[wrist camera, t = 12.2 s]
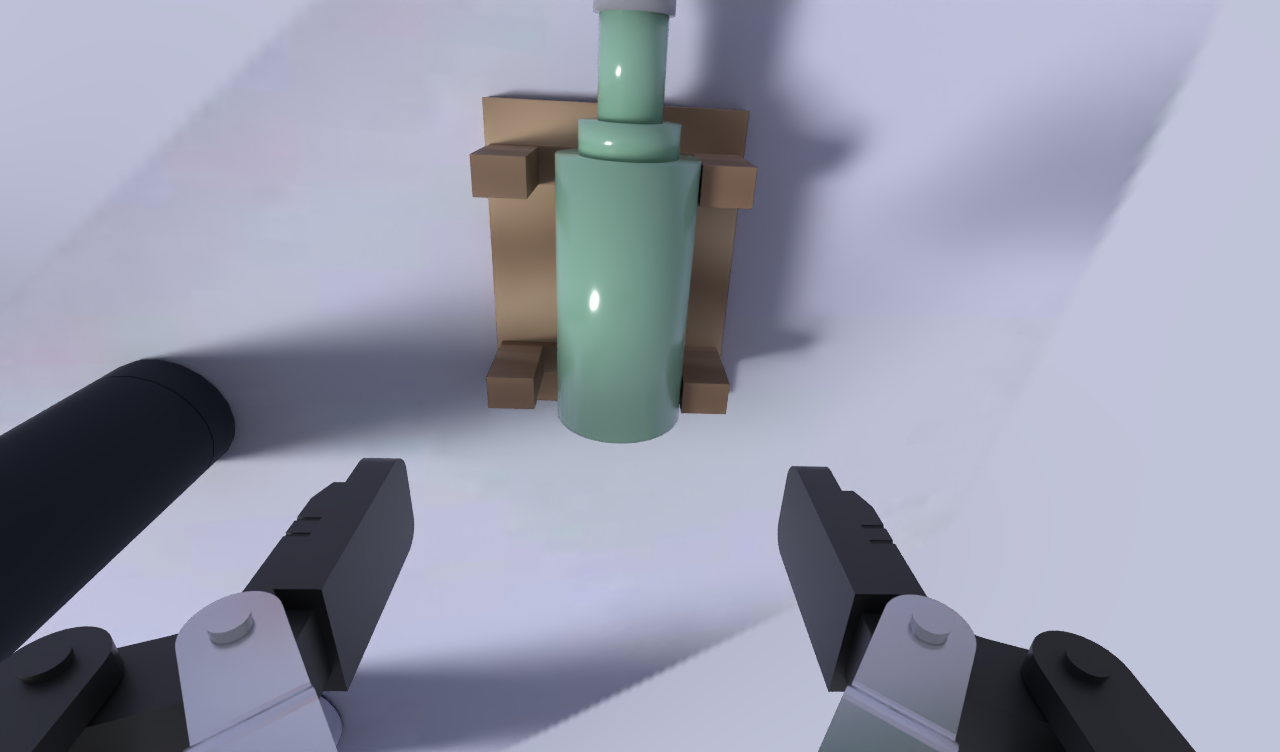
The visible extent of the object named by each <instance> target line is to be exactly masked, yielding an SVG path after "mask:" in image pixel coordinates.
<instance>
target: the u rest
mask: <svg viewBox="0 0 1280 752" xmlns="http://www.w3.org/2000/svg"><path fill="white" fill-rule="evenodd" d="M482 103H483V119H484V134H485V147H483V148H481V149H479V150H477V151H475V152H473V153H471V154H470V166H471V179H472V193H473V197H484V198H489V214H490V230H491V246H492V262H493V277H494V293H495V309H496V325H497V341H498V352H497V354H496V356H495V359H494V361H493V363H492V365H491V368H490V370H489V372H488V374H487V377H486V382H487V395H488V408H514V409H534V408H535V405H536V401H537V400H555V401H558V400H557V307H556V214H555V152H557V151H560V150H565V149H574V148H578V119H579V118H597V108H598V102H579V101H560V100H540V99H521V98H501V97H482ZM748 117H749V111H747V110H736V109H716V108H697V107H677V106H664V110H663V121H666V122H673V123H679V124H682V128H681V141H680V154H684V155H689V156H693V157H696V158H699V159H701V160H702V164H701V175H700V186H699V197H698V208H697V218H696V229H695V240H694V251H693V262H692V273H691V283H690V294H689V305H688V316H687V327H686V338H685V348H684V359H683V370H682V381H681V392H680V403H679V404H680V409H681V413H701V414H726V409H727V401H728V393H729V385H730V384H729V381H728V378H727V376H726V373H725V370H724V367H723V364H722V362H721V359H720V355H721V347H722V338H723V330H724V321H725V313H726V304H727V296H728V287H729V279H730V270H731V262H732V253H733V245H734V236H735V228H736V219H737V211H738V208H739V209H752V205H753V197H754V190H755V182H756V174H757V167H756V166H754V165H752V164H751V163H749V162H748V161H746V160H745V159H744V151H745V143H746V134H747V126H748Z"/></svg>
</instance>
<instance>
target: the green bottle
mask: <svg viewBox="0 0 1280 752" xmlns="http://www.w3.org/2000/svg"><path fill="white" fill-rule="evenodd" d="M593 11H594V12H595V13H599V54H598V108H597V118H579V119H578V148H574V149H565V150H560V151H557V152H555V214H556V307H557V400H558V417H559V419H560V421H561V422H562V423H563V425H564V426H565V427H567V428H568V429H569V430H571V431H572V432H574V433H576V434H578V435H580V436H582V437H585V438H588V439H591V440H595V441H600V442H607V443H636V442H642V441H647V440H651V439H654V438H656V437H659V436H661V435H663V434H665V433H666V432H668V431H669V430H670V429H672V428H673V427H674V425H675V424H676V422H677V420H678V413H679V403H680V392H681V381H682V370H683V359H684V348H685V338H686V327H687V316H688V305H689V294H690V283H691V273H692V262H693V251H694V240H695V229H696V218H697V208H698V197H699V186H700V175H701V164H702V160H701V159H699V158H696V157H693V156H689V155H684V154H680V141H681V128H682V124H679V123H673V122H666V121H663V110H664V94H665V78H666V62H667V46H668V31H669V18H672V17H675V13H676V0H594V4H593Z"/></svg>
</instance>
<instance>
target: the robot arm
mask: <svg viewBox="0 0 1280 752" xmlns="http://www.w3.org/2000/svg"><path fill="white" fill-rule="evenodd" d="M883 526H884V525H883V523H882V522H881V520H880V518H879V517H878V515H877V513H876V512H875V510H874V508H873V507H872V506H871V505H870V504H868V503H867V502H866V501H865V500H864V499H862V498H861V497H860V496H859V495H857V494H856V493H855V492H854V491H842V490H841V489H840V487H839V485H838V483H837V481H836V480H835V478H834V476H833V474H832V472H831V471H830V469H829V468H828V467H807V466H792V467H791V468H790V469H789V471H788V474H787V479H786V485H785V490H784V496H783V501H782V506H781V512H780V517H779V523H778V545H779V550H780V554H781V557H782V560H783V563H784V566H785V569H786V572H787V574H788V577H789V580H790V583H791V586H792V589H793V592H794V594H795V597H796V600H797V603H798V606H799V609H800V612H801V614H802V617H803V620H804V623H805V626H806V628H807V632H808V634H809V637H810V640H811V643H812V646H813V649H814V651H815V654H816V657H817V660H818V663H819V666H820V668H821V672H822V674H823V677H824V680H825V683H826V686H827V688H828V691H829V692H830V691H831V692H834V691H836V692H837V691H839V692H844V694H843V696H842V699H841V701H840V703H839V706H838V708H837V710H836V712H835V715H834V717H833V719H832V721H831V724H830V726H829V728H828V731H827V733H826V735H825V737H824V740H823V742H822V744H821V746H820V749H819V751H818V752H1196V751H1195V750H1194V749H1193V748H1192V747H1191V745H1190V744H1189V743H1188V742H1187V740H1186V739H1185V738H1184V737H1183V736H1182V734H1181V733H1180V732H1179V731H1178V729H1177V728H1176V727H1175V726H1174V724H1173V723H1172V722H1171V721H1170V719H1169V718H1168V717H1167V716H1166V715H1165V713H1164V712H1163V711H1162V710H1161V708H1160V707H1159V706H1158V705H1157V703H1156V702H1155V701H1154V700H1153V699H1152V697H1151V696H1150V695H1149V694H1148V692H1147V691H1146V690H1145V688H1144V687H1143V686H1142V685H1141V684H1140V682H1139V681H1138V680H1137V679H1136V678H1135V676H1134V675H1133V674H1132V672H1131V671H1130V670H1129V669H1128V668H1127V667H1126V666H1125V664H1124V663H1123V662H1121V661H1120V660H1119V659H1118V658H1117V657H1116V656H1114V655H1113V654H1112V653H1110V652H1109V651H1108V650H1106V649H1105V648H1103V647H1102V646H1100V645H1098V644H1097V643H1095V642H1093V641H1091V640H1088V639H1086V638H1084V637H1082V636H1079V635H1076V634H1073V633H1069V632H1064V631H1047V632H1043V633H1041V634H1039V635H1038V636H1036V637H1035V639H1034V641H1033V643H1032V645H1031V647H1030V649H1029V650H1027V649H1023V648H1019V647H1016V646H1012V645H1008V644H1004V643H1000V642H996V641H992V640H989V639H985V638H982V637H979V636H976V635H974V633H973V631H972V629H971V628H970V626H969V625H968V623H967V622H966V621H965V620H964V619H963V618H962V617H961V616H960V615H959V614H958V613H957V612H955V611H954V610H953V609H951V608H950V607H948V606H946V605H945V604H943V603H941V602H939V601H936V600H934V599H931V598H928V597H927V596H926V594H925V593H924V591H923V589H922V588H921V586H920V584H919V583H918V581H917V580H916V578H915V576H914V574H913V573H912V571H911V570H910V568H909V566H908V565H907V563H906V561H905V560H904V558H903V556H902V555H901V553H900V551H899V550H898V548H897V546H896V545H895V544H893V540H892V538H891V537H890V535H889V533H888V532H887V530H886V529H884V527H883ZM413 533H414V516H413V510H412V503H411V496H410V490H409V483H408V477H407V470H406V465H405V463H404V461H403V460H402V459H392V458H363V459H362V460H360V462H359V463H358V464H357V466H356V467H355V469H354V470H353V472H352V473H351V475H350V476H349V478H348V479H347V481H346V482H333V483H332V484H330V485H329V486H328V487H326V488H325V489H323V490H322V491H321V492H319V493H318V494H316V495H315V496H314V497H312V498H311V499H310V500H309V502H308V503H307V505H306V506H305V507H304V509H303V510H302V511H301V513H300V514H299V515H298V517H297V521H294V522H293V524H292V525H291V526H290V528H289V529H288V530H287V532H286V536H283V537H282V539H281V540H280V541H279V543H278V544H277V545H276V547H275V548H274V549H273V551H272V552H271V554H270V555H269V556H268V558H267V559H266V560H265V562H264V563H263V564H262V566H261V567H260V569H259V570H258V571H257V573H256V574H255V575H254V577H253V578H252V579H251V581H250V582H249V584H248V585H247V586H246V588H245V589H244V590H243V592H241V593H237V594H233V595H230V596H227V597H224V598H222V599H219V600H217V601H215V602H213V603H211V604H210V605H208V606H206V607H205V608H203V609H202V610H200V611H199V612H197V613H196V614H195V615H194V616H193V617H191V618H190V619H189V620H188V621H187V623H186V624H185V625H184V626H183V628H182V629H181V630H180V632H179V634H175V635H172V636H167V637H163V638H159V639H155V640H150V641H146V642H142V643H137V644H133V645H129V646H125V647H120V648H116V646H115V644H114V642H113V640H112V638H111V636H110V634H109V633H108V632H107V631H106V630H104V629H101V628H98V627H87V626H84V627H75V628H70V629H65V630H62V631H58V632H55V633H52V634H50V635H47V636H44V637H42V638H40V639H38V640H36V641H34V642H32V643H30V644H28V645H26V646H24V647H22V648H21V649H19V650H18V651H16V652H15V653H13V654H12V655H10V656H9V657H8V658H6V659H5V660H4V661H2V662H1V663H0V752H338V751H337V749H336V746H337V744H338V741H339V739H340V737H341V734H342V723H341V719H340V717H339V715H338V713H337V711H336V710H335V708H334V707H333V706H332V705H331V704H330V703H329V702H328V701H327V700H326V699H324V698H323V697H321V695H322V692H323V691H348V688H349V686H350V684H351V682H352V679H353V677H354V675H355V673H356V670H357V668H358V666H359V664H360V661H361V659H362V657H363V654H364V652H365V650H366V648H367V645H368V643H369V641H370V639H371V636H372V634H373V632H374V630H375V627H376V625H377V623H378V621H379V618H380V616H381V614H382V611H383V609H384V607H385V605H386V602H387V600H388V598H389V596H390V593H391V591H392V589H393V587H394V584H395V582H396V580H397V578H398V575H399V573H400V571H401V568H402V566H403V564H404V562H405V559H406V557H407V555H408V553H409V550H410V548H411V544H412V540H413Z"/></svg>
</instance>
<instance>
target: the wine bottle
mask: <svg viewBox="0 0 1280 752" xmlns="http://www.w3.org/2000/svg"><path fill="white" fill-rule="evenodd" d="M233 438H234V418H233V416H232V413H231V410H230V408H229V405H228V403H227V402H226V401H225V399H224V398H223V397H222V395H221V394H220V393H219V391H218V390H217V389H216V388H215V387H214V386H213V385H211V384H210V383H209V382H208V381H206V380H205V379H204V378H203V377H201V376H200V375H199V374H197V373H195V372H192V371H190V370H188V369H186V368H184V367H182V366H180V365H177V364H173V363H168V362H164V361H160V360H142V361H135V362H132V363H129V364H127V365H124V366H121V367H119V368H117V369H115V370H114V371H112V372H110V373H108V374H107V375H105V376H103V377H102V378H100V379H98V380H96V381H95V382H93V383H91V384H89V385H88V386H86V387H84V388H82V389H81V390H79V391H77V392H75V393H74V394H72V395H70V396H69V397H67V398H65V399H63V400H62V401H60V402H58V403H56V404H55V405H53V406H51V407H49V408H48V409H46V410H44V411H42V412H41V413H39V414H37V415H36V416H34V417H32V418H30V419H29V420H27V421H25V422H23V423H22V424H20V425H18V426H16V427H15V428H13V429H11V430H9V431H8V432H6V433H4V434H3V435H1V436H0V663H1V662H2V661H4V660H5V659H6V658H8V657H9V656H10V655H12V654H13V653H14V652H15V651H16V650H17V649H18V648H19V647H20V646H21V645H22V644H23V643H24V642H25V641H27V640H28V639H29V638H30V637H31V636H32V635H33V634H34V633H35V632H36V631H37V630H38V629H39V628H40V627H41V626H42V625H43V624H44V623H46V622H47V621H48V620H49V619H50V618H51V617H52V616H53V615H54V614H55V613H56V612H57V611H58V610H59V609H60V608H61V607H62V606H64V605H65V604H66V603H67V602H68V601H69V600H70V599H71V598H72V597H73V596H74V595H75V594H76V593H77V592H78V591H79V590H80V589H81V588H83V587H84V586H85V585H86V584H87V583H88V582H89V581H90V580H91V579H92V578H93V577H94V576H95V575H96V574H97V573H98V572H99V571H101V570H102V569H103V568H104V567H105V566H106V565H107V564H108V563H109V562H110V561H111V560H112V559H113V558H114V557H115V556H116V555H117V554H118V553H120V552H121V551H122V550H123V549H124V548H125V547H126V546H127V545H128V544H129V543H130V542H131V541H132V540H133V539H134V538H135V537H136V536H138V535H139V534H140V533H141V532H142V531H143V530H144V529H145V528H146V527H147V526H148V525H149V524H150V523H151V522H152V521H153V520H154V519H155V518H157V517H158V516H159V515H160V514H161V513H162V512H163V511H164V510H165V509H166V508H167V507H168V506H169V505H170V504H171V503H172V502H173V501H174V500H176V499H177V498H178V497H179V496H180V495H181V494H182V493H183V492H184V491H185V490H186V489H187V488H188V487H189V486H190V485H191V484H192V483H194V482H195V481H196V480H197V479H198V478H199V477H200V476H201V475H202V474H203V473H204V472H205V471H206V470H207V469H208V468H209V467H210V466H211V465H213V464H214V463H215V462H216V461H217V460H218V459H219V458H220V457H221V456H222V455H223V454H224V453H225V452H226V451H227V450H228V449H229V447H230V444H231V442H232V440H233Z"/></svg>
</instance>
